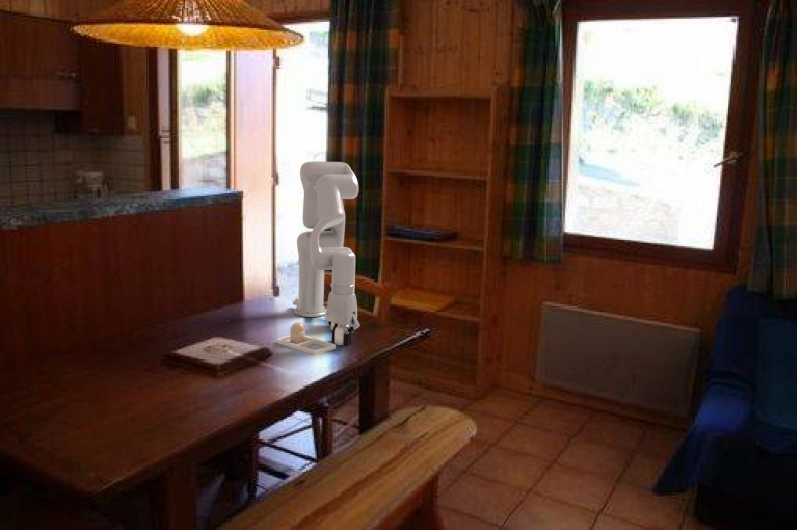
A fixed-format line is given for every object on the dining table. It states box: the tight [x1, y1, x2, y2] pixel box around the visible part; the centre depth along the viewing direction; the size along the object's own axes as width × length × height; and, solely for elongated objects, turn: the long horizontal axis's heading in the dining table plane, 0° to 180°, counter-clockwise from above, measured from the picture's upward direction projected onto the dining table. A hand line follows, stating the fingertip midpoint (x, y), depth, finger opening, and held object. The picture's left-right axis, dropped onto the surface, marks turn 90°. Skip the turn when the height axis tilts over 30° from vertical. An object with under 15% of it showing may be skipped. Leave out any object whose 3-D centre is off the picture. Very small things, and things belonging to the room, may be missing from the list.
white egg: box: [333, 325, 345, 346], centre depth 238 cm, size 5×5×7 cm
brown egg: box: [289, 322, 306, 344], centre depth 236 cm, size 5×5×7 cm
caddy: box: [275, 334, 337, 356], centre depth 234 cm, size 18×10×2 cm, turn 52°
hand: (341, 342), depth 238 cm, fingers closed on white egg, 4 cm apart
